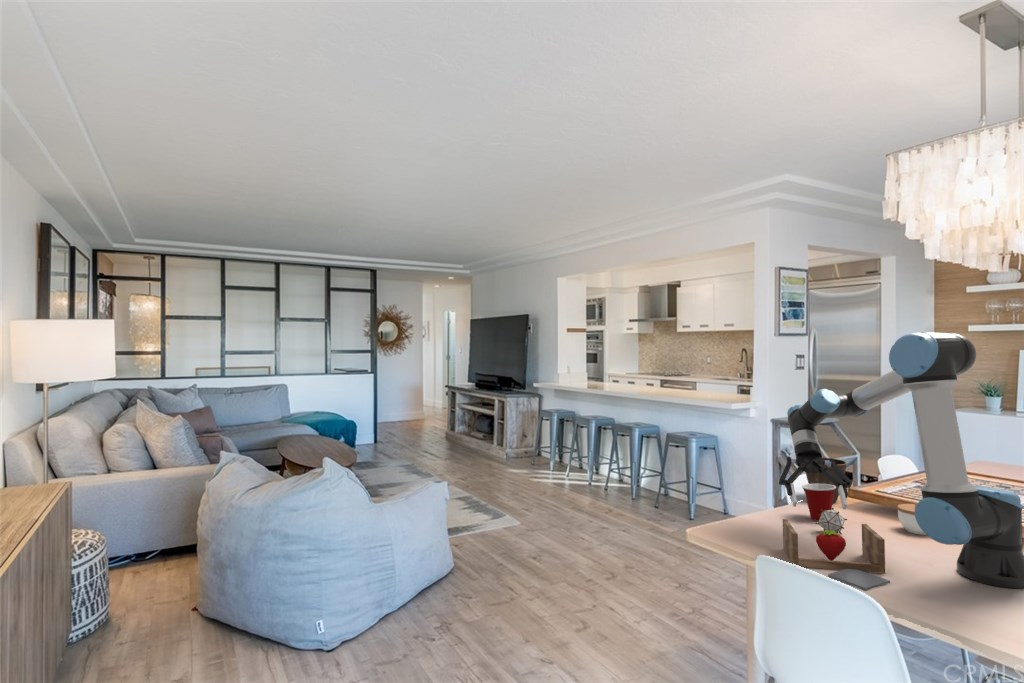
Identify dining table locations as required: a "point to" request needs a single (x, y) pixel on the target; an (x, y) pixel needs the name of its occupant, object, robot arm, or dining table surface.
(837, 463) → the plant pot
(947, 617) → the dining table surface
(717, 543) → the dining table surface
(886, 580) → the pad
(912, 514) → the lidded jar
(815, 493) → the plastic cup
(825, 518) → the game die
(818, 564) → the wooden crossbar stand
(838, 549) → the strawberry
